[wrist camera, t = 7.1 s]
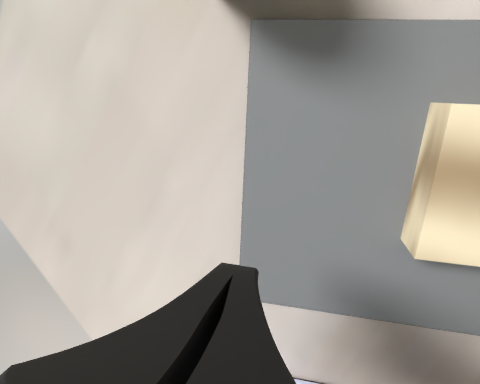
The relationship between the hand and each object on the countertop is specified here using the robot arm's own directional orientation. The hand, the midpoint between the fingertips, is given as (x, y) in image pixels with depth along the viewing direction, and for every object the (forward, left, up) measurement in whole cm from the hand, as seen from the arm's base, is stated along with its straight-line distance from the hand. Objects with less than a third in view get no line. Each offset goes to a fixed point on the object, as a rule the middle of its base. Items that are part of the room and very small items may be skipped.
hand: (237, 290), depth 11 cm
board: (+1, -9, -10) cm, 14 cm away
